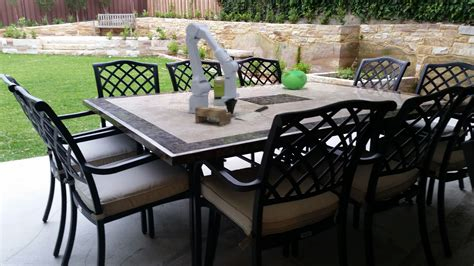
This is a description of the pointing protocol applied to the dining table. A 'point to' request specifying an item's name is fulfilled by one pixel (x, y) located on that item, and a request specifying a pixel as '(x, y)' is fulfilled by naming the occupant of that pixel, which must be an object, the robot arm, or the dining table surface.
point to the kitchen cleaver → (252, 114)
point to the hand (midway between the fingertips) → (230, 114)
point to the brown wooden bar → (214, 118)
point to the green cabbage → (294, 78)
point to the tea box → (219, 90)
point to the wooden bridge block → (212, 115)
